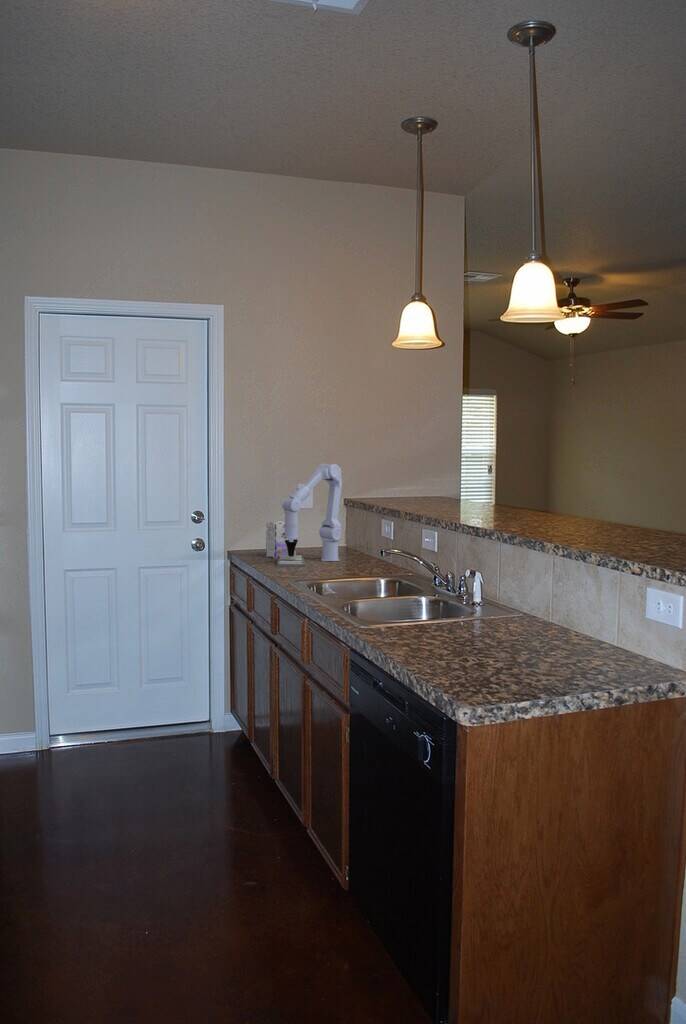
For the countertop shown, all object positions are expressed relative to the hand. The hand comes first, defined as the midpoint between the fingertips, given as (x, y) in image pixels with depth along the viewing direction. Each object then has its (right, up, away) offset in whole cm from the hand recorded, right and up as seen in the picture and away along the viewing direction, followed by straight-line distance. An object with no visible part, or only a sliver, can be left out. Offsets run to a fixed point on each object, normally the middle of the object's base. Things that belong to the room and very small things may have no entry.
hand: (291, 556), depth 350 cm
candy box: (-7, -2, +24) cm, 25 cm away
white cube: (-1, -2, +6) cm, 7 cm away
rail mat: (0, -3, +3) cm, 5 cm away
